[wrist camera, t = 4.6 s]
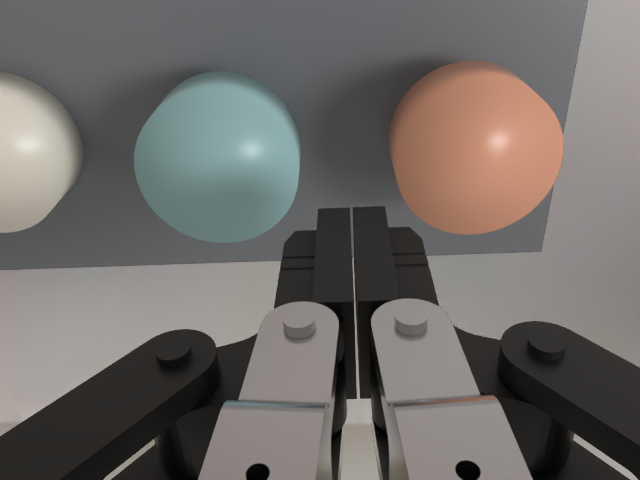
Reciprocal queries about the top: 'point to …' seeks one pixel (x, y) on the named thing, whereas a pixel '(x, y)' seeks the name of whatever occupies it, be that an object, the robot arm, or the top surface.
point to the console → (288, 82)
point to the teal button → (219, 158)
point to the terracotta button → (474, 148)
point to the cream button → (34, 153)
